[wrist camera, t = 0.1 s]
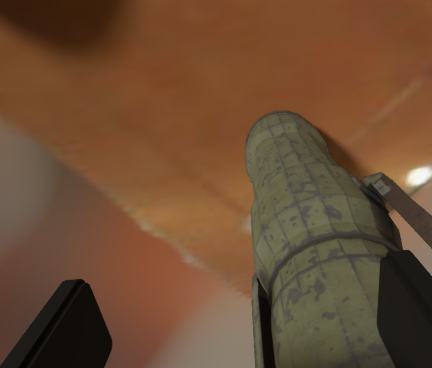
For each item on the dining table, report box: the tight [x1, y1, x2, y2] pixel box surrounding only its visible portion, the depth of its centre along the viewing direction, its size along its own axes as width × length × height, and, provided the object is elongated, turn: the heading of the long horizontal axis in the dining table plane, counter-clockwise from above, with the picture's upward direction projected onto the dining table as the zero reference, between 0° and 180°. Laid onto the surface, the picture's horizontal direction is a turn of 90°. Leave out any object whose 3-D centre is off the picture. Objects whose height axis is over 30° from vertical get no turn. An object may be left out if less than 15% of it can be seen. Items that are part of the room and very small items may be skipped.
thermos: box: [245, 111, 432, 368], centre depth 24 cm, size 9×12×35 cm
